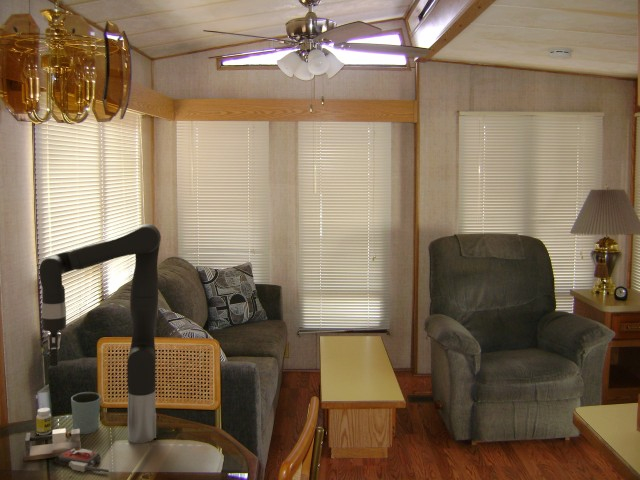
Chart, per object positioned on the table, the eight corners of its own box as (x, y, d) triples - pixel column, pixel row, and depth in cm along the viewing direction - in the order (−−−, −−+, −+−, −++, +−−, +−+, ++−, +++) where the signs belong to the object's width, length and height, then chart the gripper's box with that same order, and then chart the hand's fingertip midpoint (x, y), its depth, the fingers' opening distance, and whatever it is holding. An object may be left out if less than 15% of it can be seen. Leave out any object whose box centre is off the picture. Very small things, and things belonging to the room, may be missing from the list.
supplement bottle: (45, 436, 219) (45, 413, 218) (33, 434, 220) (33, 411, 218) (54, 430, 223) (53, 407, 222) (42, 428, 224) (41, 406, 223)
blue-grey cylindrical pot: (80, 421, 231) (80, 390, 230) (106, 424, 230) (106, 393, 228) (65, 433, 221) (65, 401, 220) (92, 436, 220) (92, 403, 218)
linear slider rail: (80, 444, 213) (80, 426, 213) (80, 453, 207) (80, 434, 206) (25, 451, 207) (25, 432, 206) (24, 460, 201) (23, 441, 200)
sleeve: (65, 438, 210) (65, 428, 209) (65, 442, 206) (65, 432, 206) (52, 439, 208) (52, 429, 208) (52, 443, 205) (52, 434, 204)
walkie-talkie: (49, 467, 198) (106, 477, 194) (49, 454, 197) (106, 463, 193) (66, 455, 206) (121, 464, 202) (66, 442, 206) (121, 451, 201)
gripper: (65, 319, 205) (66, 367, 207) (66, 309, 218) (66, 354, 220) (40, 321, 202) (41, 369, 204) (42, 310, 215) (43, 356, 217)
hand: (54, 361), depth 212 cm, fingers open, 8 cm apart
